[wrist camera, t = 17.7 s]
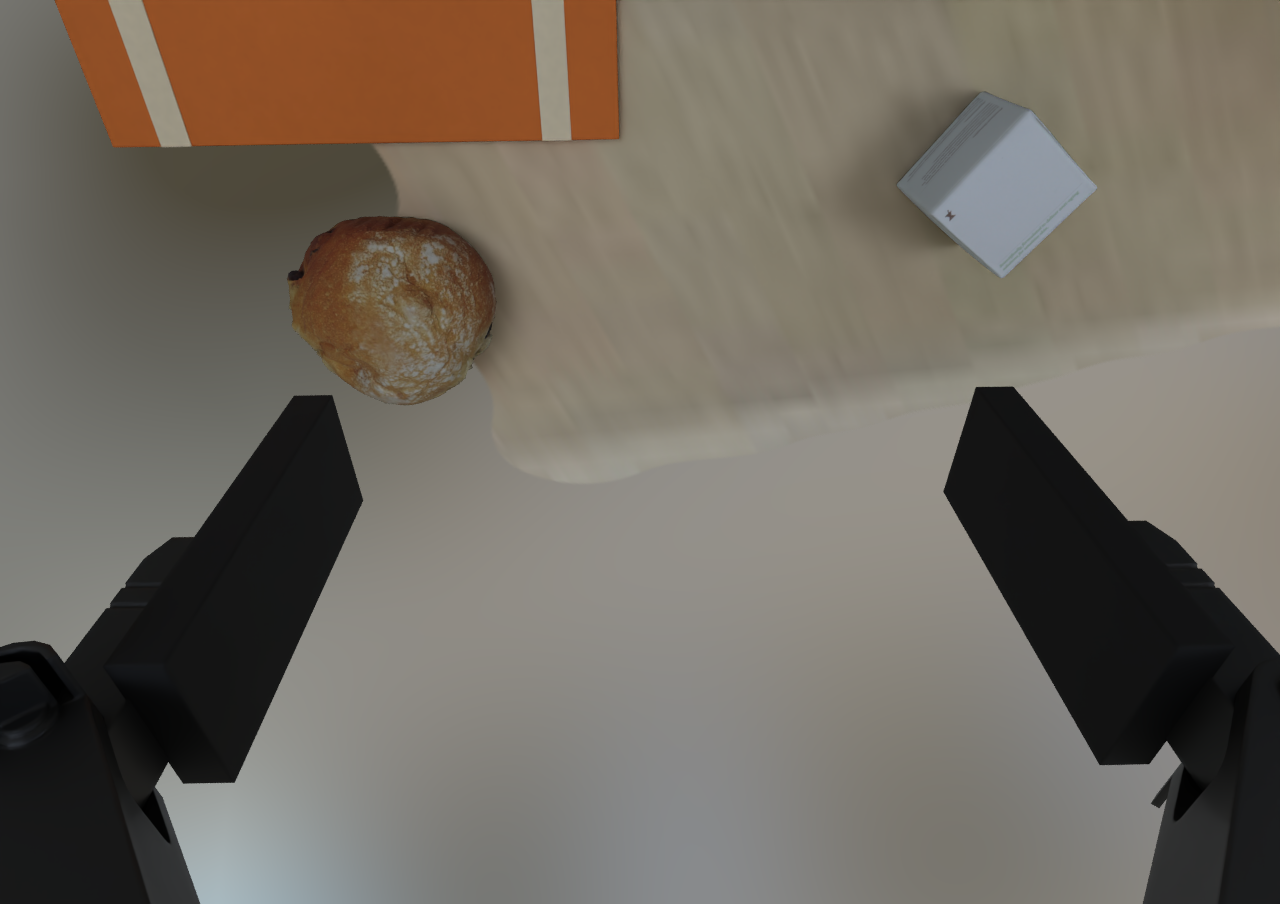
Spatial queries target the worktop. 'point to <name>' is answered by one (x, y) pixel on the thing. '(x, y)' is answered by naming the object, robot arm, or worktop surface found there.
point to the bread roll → (394, 306)
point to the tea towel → (347, 70)
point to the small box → (996, 182)
